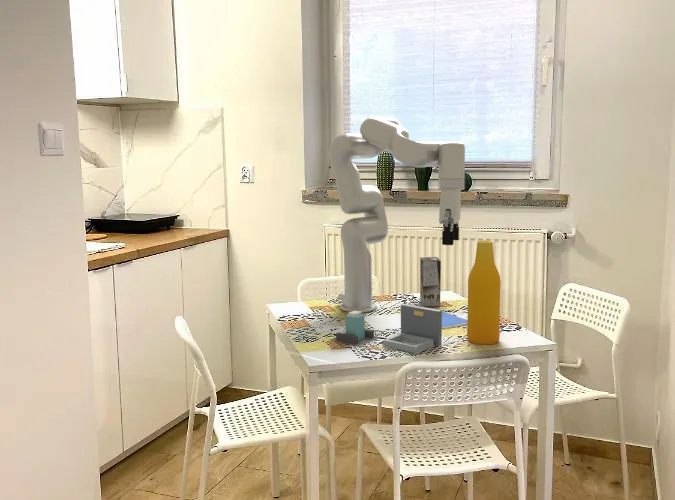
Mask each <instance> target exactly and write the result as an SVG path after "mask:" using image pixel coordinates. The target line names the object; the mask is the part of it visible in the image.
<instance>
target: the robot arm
mask: <svg viewBox="0 0 675 500" xmlns="http://www.w3.org/2000/svg"><path fill="white" fill-rule="evenodd" d="M385 151H387V152H390V154H391V156H392V157H393V159H395V160H396V161H398V162H400V163H402V164H405V165H407V166H410V167H412V168H427V167H429V168H433V167H434V168H436V167H438V172H437V173H438V179H437V180H438V184H437V185H438V189H437V190H438V191H440V197H439V211H438V213H439V217H438V223H439V224H440V225H442V231H441V232H442V233H441V237H442V238H441V244H442V245H443V246H453V245H454V241H459V239H460V227H459V226H460V224H459V222H460V220H461V212H462V211H461V206H462V205H461V201H462V200H461V195H462V194H461V191H463V190H465V169H466V168H465V167H466V166H465V165H466V163H465V159H466V156H465V155H466V149H465V144H464V143H463V142H462V141H461V142H460V141H446V142H445V141H439V140H438V141H436V140H435V141H433V140H432V141H431V140H430V141H427V140H426V141H417V140H414V139H413V140H412V139H410V136H409V132H408V130H407V129H406V128H405V127H403V126H402V124H401V123H400V121H399V120H398V119H396V118H394V117H389V116H388V117H387V116H386V117H385V116H384V117H383V116H376V117H375V116H374V117H368V118H366V119H365V120H363V122H362V123H361V125H360V127H359V132H358V133H357V132H356V133H355V132H353V133H343V134H340V135H337V136H336V137H334V138H333V139H332V141H331V143H330V146H329V149H328V157H329V162H330V166H331V169H332V171H333V174H334V179H335V184H336V185H335V186H336V189H337V195H338V201H339V206H340V208H341V211H342V212H343V213H344V214H346V215H358V214H364V216H360V217H354V218H350V219H346V221H345V222H343V224H342V225H341V227H340V239H341V242H342V247H343V270H344V271H343V272H344V273H343V274H344V275H343V276H344V293H339V294H338V295H337V297H336V299H337V301H342V302H341V304H339V305H340V310H342V311H344V312H347V313H349V312H352V311H360V312H361V313H369V312H373V311H375V310H377V303H375V302H373V263H372V262H373V260H372V259H373V258H372V254H371V252H370V250H369V248H368V246H367V245H373V244H378V243H381V242H383V241H385V240H386V238H387V237H388V235H389V225H388V219H387V213H386V208H385V203H384V197H383V195H382V193H381V191H380V189H378V187H376V186H374V185H368V184H367V185H366V184H365V185H363V183H362V180H361V174H360V171H359V169H358V167H357V165H356V164H355V163H354V162H353V160H359V159H374V158H375V157H378V156H380V155H381V154H382V153H384V152H385Z"/></svg>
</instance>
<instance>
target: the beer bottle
mask: <svg viewBox="0 0 675 500" xmlns="http://www.w3.org/2000/svg"><path fill="white" fill-rule="evenodd" d="M475 251H476V252H475V259H474V263H473V266H472V268H471V269H470V271H469V275H468V278H467V319H466V320H467V325H466V326H467V327H466V338H467V340H468V342H470V343H473V344H477V345H494V344H496V342H497V343H498V342H499V339H500V332H501V329H500V327H501V325H500V324H501V322H500V319H501V316H500V315H501V285H502V283H501V276H500V272H499V270H498V267H497V266H496V262H495V255H494V253H495V252H494V243H493V241H492V240H478V241H477V243H476V250H475Z"/></svg>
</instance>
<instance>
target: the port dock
mask: <svg viewBox="0 0 675 500" xmlns="http://www.w3.org/2000/svg"><path fill="white" fill-rule="evenodd" d="M442 311H443V310H441V309H437V310H436V308H430V307H426V306H418V305H412V304H406V303H402V304H401V305H400V333H398V334H395V335H393V336H390V337H388V338H385V339H383V340H382V341H383V342H382V346H384V347H387V348H392V349H395V350H396V349H397V350H402V351H405V352H409V353H410V354H415V355H417V354H419V353H421V352H424V351H426V350H428V349H430V348H432V347H434V345H435V346H439V347H440V346H441V345H442V343H443V342H442V336H443V331H442V330H443V329H442ZM400 341H407V342H412V343H415V345H413V344H409V343H405V342H400Z"/></svg>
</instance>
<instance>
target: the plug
mask: <svg viewBox="0 0 675 500" xmlns="http://www.w3.org/2000/svg"><path fill="white" fill-rule="evenodd" d="M347 313H348V314H346V315H345V316H344V317H345V319H344V320H345V321H344V323H345V324H344V325H345V326H344V327H345V328H344V329H345V333H346V334H351V335H355V336H358V341H359V340H362V339H364V338H365V329H366V327H365V326H366V323H365V319H366V318H365V317H366V316H365V314H362V312H360V311H352V312H347Z"/></svg>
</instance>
